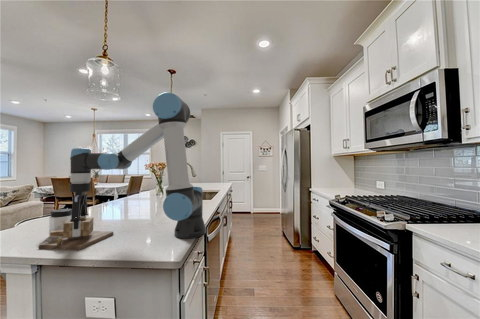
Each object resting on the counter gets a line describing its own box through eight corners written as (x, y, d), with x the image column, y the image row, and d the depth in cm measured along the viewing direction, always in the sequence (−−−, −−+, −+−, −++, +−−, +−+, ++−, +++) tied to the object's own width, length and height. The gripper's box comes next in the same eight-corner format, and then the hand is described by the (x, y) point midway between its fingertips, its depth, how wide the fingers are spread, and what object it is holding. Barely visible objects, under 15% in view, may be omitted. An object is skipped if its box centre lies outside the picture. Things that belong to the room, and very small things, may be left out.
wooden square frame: (93, 230, 105) (93, 217, 105) (88, 235, 97) (89, 221, 97) (54, 233, 99) (55, 220, 100) (46, 239, 91) (47, 224, 91)
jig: (113, 234, 108) (113, 221, 108) (79, 250, 88) (79, 233, 89) (79, 233, 110) (79, 220, 110) (38, 248, 90) (39, 232, 90)
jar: (47, 239, 102) (48, 212, 102) (50, 234, 109) (50, 209, 109) (71, 235, 107) (72, 210, 107) (73, 231, 114) (73, 208, 114)
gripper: (77, 181, 109) (76, 228, 108) (61, 184, 89) (60, 241, 88) (95, 181, 111) (94, 226, 111) (84, 184, 92) (83, 239, 91)
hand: (79, 233), depth 99 cm, fingers closed on wooden square frame, 9 cm apart
